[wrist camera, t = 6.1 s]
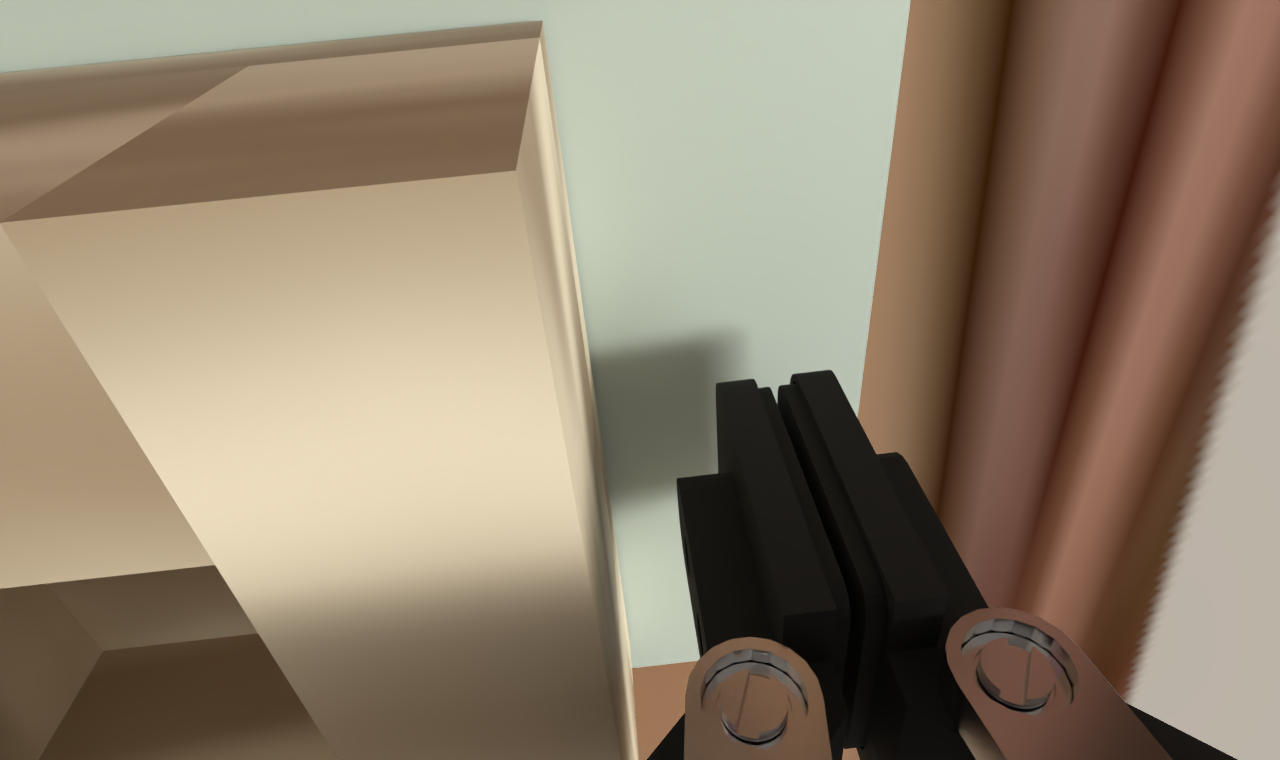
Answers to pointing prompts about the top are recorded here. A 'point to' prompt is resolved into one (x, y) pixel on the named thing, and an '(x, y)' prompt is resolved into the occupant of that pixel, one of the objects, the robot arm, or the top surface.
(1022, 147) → the top surface
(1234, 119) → the top surface
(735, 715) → the robot arm
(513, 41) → the socket block
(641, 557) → the pale green stand
